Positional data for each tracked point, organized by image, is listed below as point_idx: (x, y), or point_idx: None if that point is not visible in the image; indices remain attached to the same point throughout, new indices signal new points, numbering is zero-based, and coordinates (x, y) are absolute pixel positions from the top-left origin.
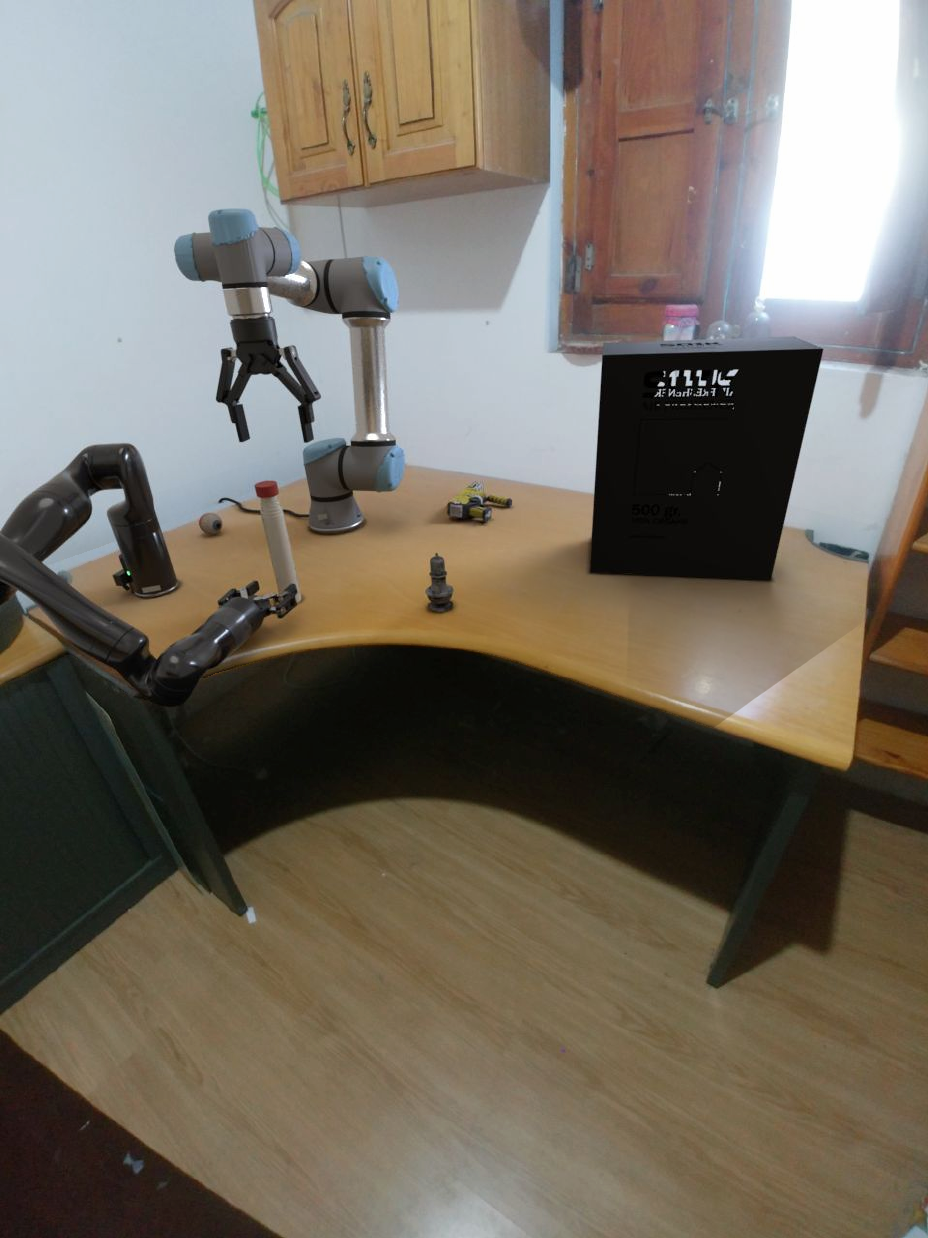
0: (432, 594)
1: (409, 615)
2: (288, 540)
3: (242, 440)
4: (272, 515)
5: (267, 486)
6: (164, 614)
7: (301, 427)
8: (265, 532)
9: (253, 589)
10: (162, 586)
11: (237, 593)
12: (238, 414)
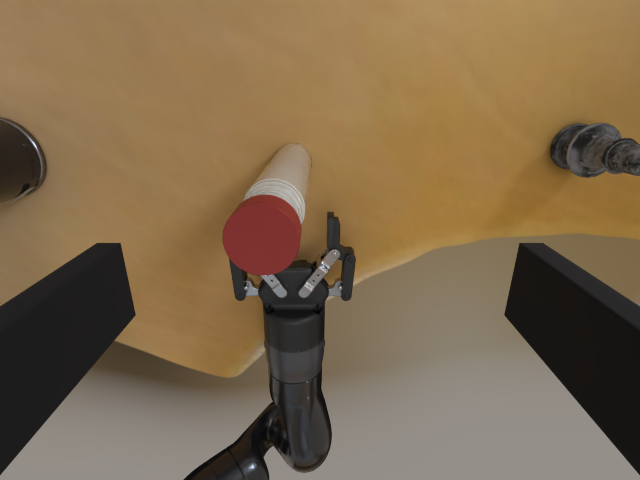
0: (582, 171)
1: (519, 183)
2: (307, 186)
3: (130, 318)
4: None
5: (285, 267)
6: (106, 238)
7: (552, 370)
8: None
9: None
10: (31, 181)
11: None
12: (20, 415)
